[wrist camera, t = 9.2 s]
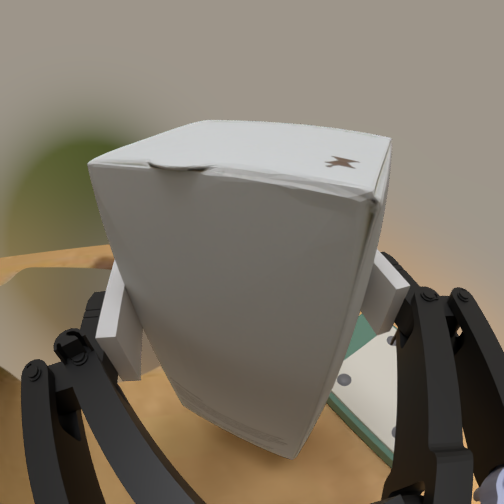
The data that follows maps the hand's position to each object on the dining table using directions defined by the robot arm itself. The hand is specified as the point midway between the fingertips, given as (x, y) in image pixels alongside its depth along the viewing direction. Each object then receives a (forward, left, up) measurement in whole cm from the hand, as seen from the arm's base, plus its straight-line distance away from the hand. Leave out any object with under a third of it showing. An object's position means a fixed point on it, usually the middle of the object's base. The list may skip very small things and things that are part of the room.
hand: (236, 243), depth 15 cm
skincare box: (-4, -2, -9) cm, 10 cm away
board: (+3, -14, -17) cm, 22 cm away
